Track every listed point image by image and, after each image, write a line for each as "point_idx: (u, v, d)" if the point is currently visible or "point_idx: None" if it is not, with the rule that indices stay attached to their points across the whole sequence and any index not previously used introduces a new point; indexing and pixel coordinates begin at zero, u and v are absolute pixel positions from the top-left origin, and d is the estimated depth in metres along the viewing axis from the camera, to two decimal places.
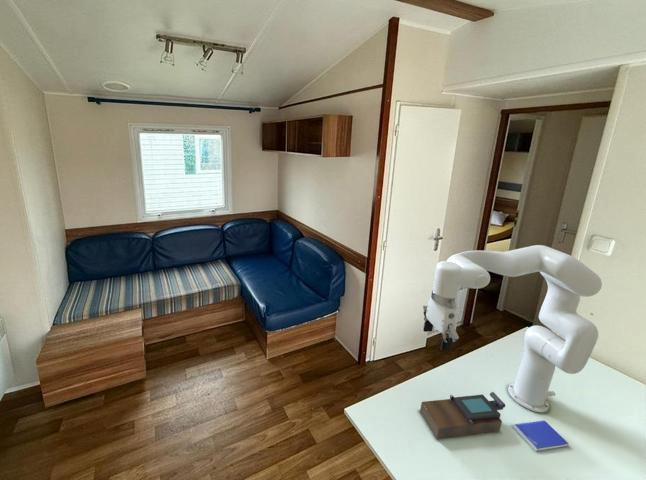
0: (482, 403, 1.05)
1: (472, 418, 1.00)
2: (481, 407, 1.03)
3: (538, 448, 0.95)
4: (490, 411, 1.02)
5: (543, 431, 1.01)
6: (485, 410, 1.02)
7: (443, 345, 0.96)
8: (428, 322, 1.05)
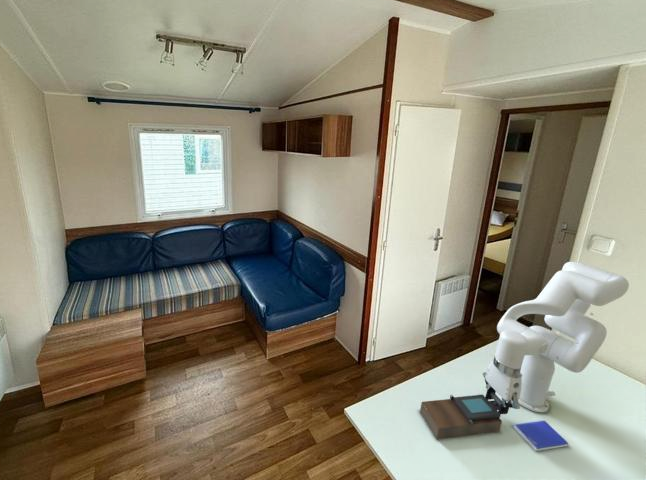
0: (482, 403, 1.05)
1: (472, 418, 1.00)
2: (481, 407, 1.03)
3: (538, 448, 0.95)
4: (490, 411, 1.02)
5: (543, 431, 1.01)
6: (485, 410, 1.02)
7: (501, 409, 1.01)
8: (491, 391, 1.07)
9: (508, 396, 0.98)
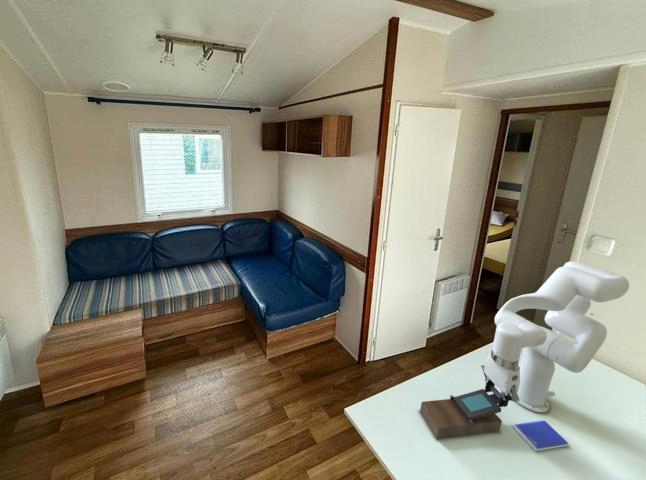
0: (482, 399, 1.04)
1: (472, 417, 1.00)
2: (481, 404, 1.03)
3: (538, 448, 0.95)
4: (490, 406, 1.01)
5: (543, 431, 1.01)
6: (485, 406, 1.02)
7: (501, 402, 1.00)
8: (490, 383, 1.06)
9: (507, 389, 0.97)
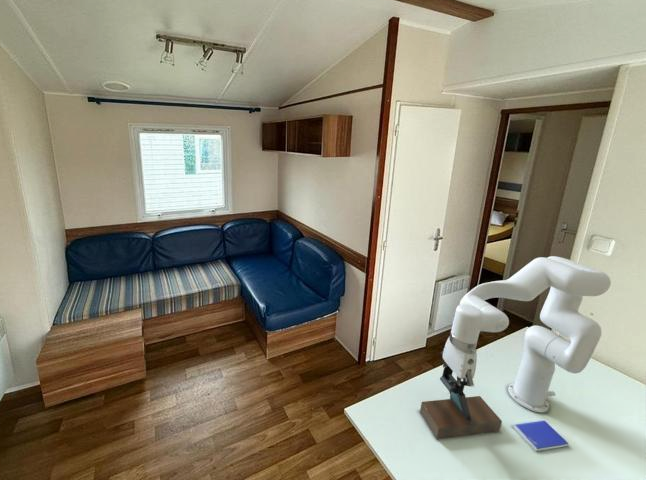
0: None
1: (467, 417, 0.99)
2: (456, 398, 1.01)
3: (538, 448, 0.95)
4: (459, 398, 0.98)
5: (543, 431, 1.01)
6: (459, 400, 0.99)
7: (456, 388, 0.96)
8: (447, 370, 1.01)
9: (462, 373, 0.93)
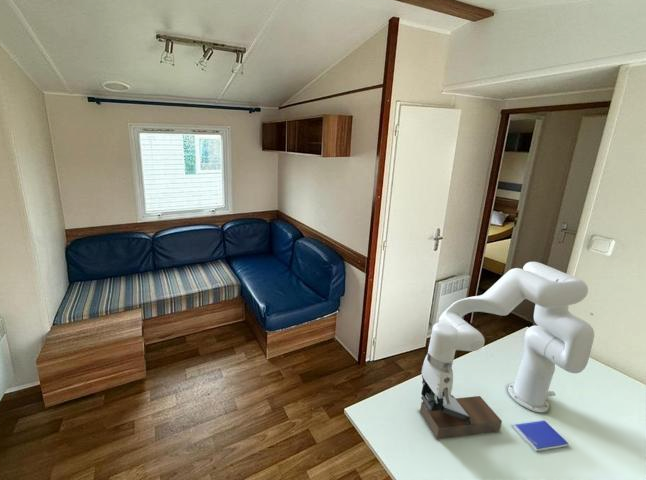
0: None
1: (466, 419, 0.99)
2: None
3: (538, 448, 0.95)
4: None
5: (543, 431, 1.01)
6: None
7: (434, 405, 0.97)
8: (426, 386, 1.02)
9: (439, 391, 0.93)
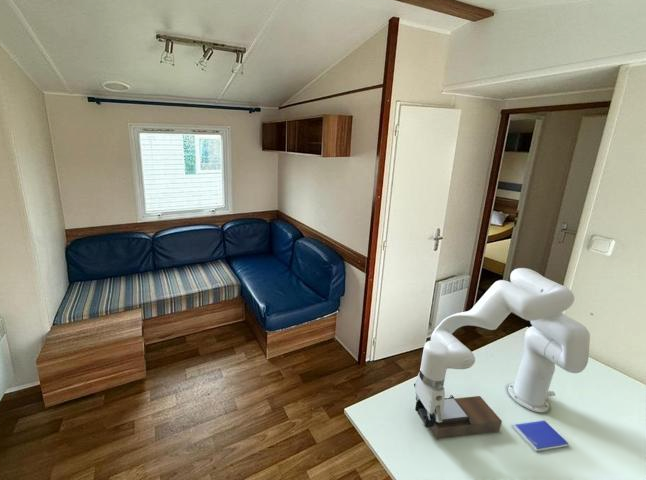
0: None
1: (466, 420, 1.00)
2: None
3: (538, 448, 0.95)
4: None
5: (543, 431, 1.01)
6: None
7: (427, 422, 0.99)
8: (420, 402, 1.04)
9: (431, 409, 0.95)
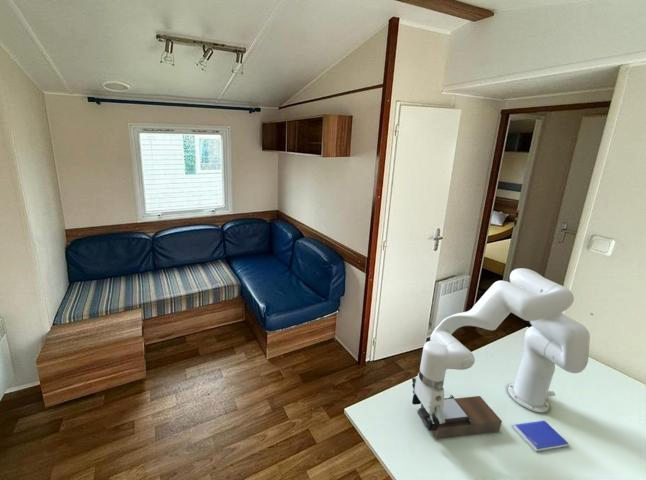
0: None
1: (466, 420, 1.00)
2: None
3: (538, 448, 0.95)
4: None
5: (543, 431, 1.01)
6: None
7: (430, 425, 0.96)
8: (417, 395, 1.05)
9: (431, 409, 0.95)
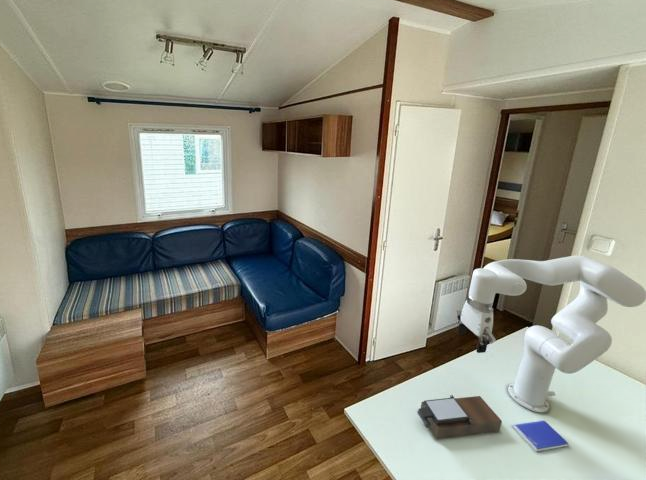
0: None
1: (466, 420, 1.00)
2: None
3: (538, 448, 0.95)
4: None
5: (543, 431, 1.01)
6: None
7: (479, 347, 1.02)
8: (462, 325, 1.11)
9: (480, 331, 1.01)
